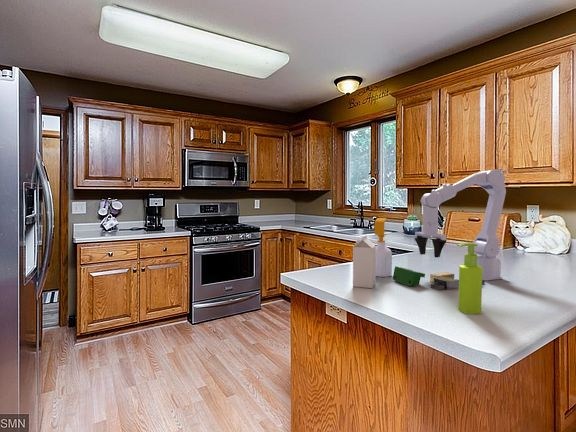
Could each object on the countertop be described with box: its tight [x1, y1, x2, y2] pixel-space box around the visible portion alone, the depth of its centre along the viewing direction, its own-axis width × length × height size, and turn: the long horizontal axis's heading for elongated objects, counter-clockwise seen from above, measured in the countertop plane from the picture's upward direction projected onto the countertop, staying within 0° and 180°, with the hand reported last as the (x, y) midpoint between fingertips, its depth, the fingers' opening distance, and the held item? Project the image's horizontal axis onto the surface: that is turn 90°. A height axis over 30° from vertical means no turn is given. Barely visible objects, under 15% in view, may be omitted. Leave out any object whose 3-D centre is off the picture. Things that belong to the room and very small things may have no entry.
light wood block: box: [429, 271, 455, 283], centre depth 133 cm, size 9×4×3 cm, turn 112°
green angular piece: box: [392, 266, 426, 288], centre depth 131 cm, size 12×6×9 cm, turn 15°
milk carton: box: [352, 234, 377, 289], centre depth 127 cm, size 7×7×19 cm
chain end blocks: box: [430, 278, 486, 291], centre depth 127 cm, size 23×6×3 cm, turn 112°
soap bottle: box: [374, 217, 393, 278], centre depth 144 cm, size 9×9×25 cm
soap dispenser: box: [456, 242, 483, 315], centre depth 98 cm, size 6×7×20 cm
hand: (429, 255), depth 137 cm, fingers open, 7 cm apart
